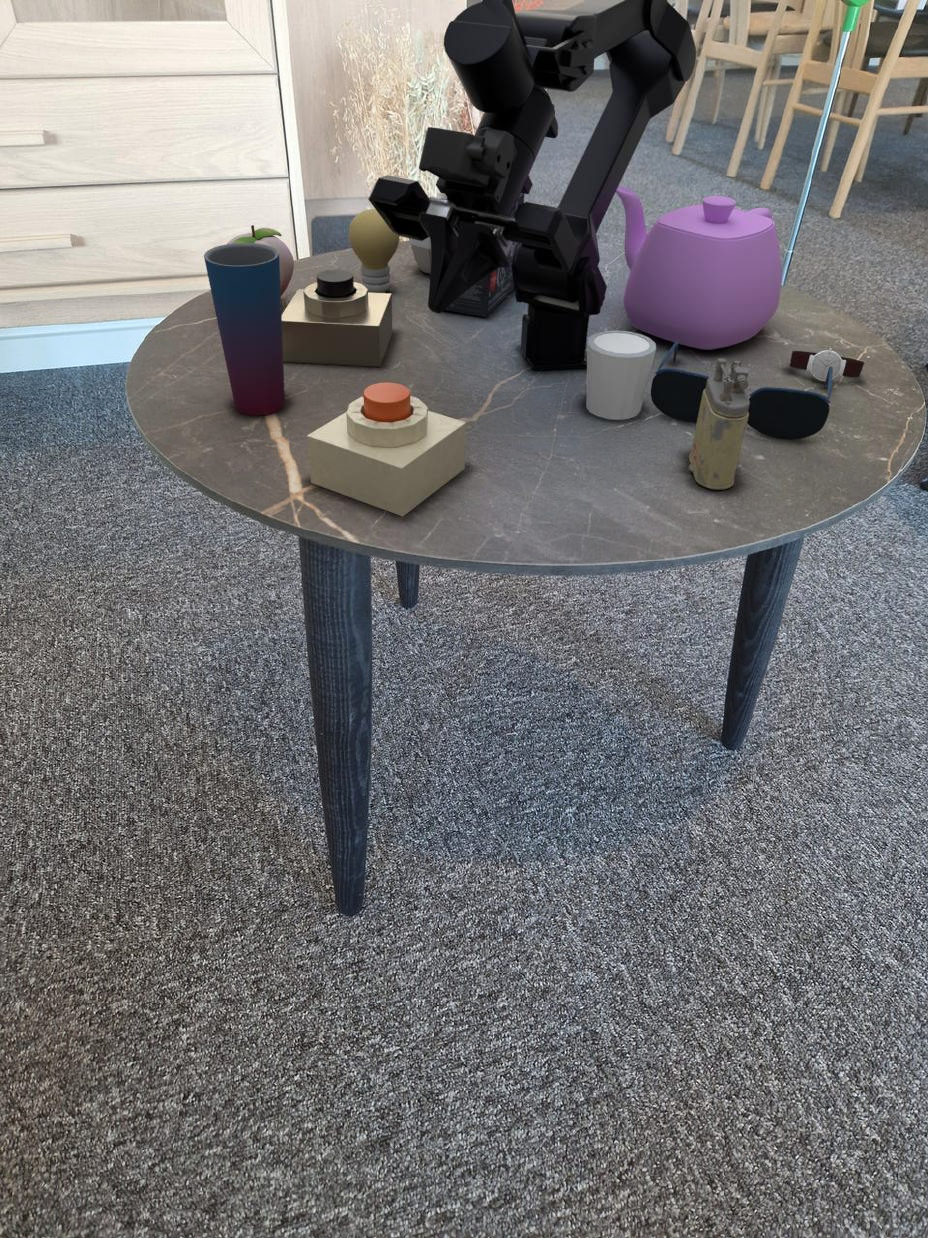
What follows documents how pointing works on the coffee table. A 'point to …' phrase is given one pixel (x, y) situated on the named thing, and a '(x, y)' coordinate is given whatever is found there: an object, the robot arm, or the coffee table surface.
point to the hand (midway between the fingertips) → (433, 310)
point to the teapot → (701, 272)
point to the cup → (249, 323)
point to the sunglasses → (767, 410)
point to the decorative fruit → (268, 239)
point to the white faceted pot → (422, 253)
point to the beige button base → (337, 327)
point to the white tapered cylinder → (618, 373)
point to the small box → (488, 287)
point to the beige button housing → (387, 456)
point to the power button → (386, 402)
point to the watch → (826, 364)
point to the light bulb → (373, 249)
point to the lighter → (720, 427)
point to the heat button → (335, 283)
